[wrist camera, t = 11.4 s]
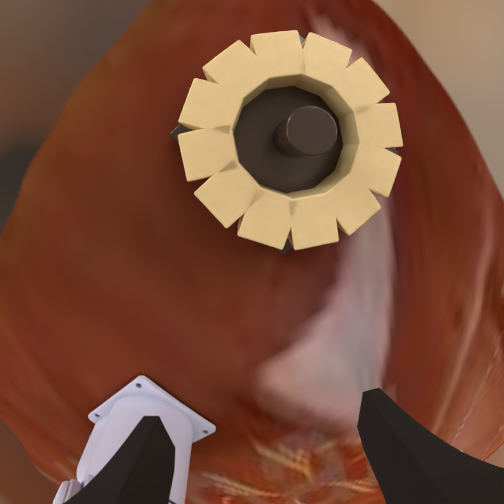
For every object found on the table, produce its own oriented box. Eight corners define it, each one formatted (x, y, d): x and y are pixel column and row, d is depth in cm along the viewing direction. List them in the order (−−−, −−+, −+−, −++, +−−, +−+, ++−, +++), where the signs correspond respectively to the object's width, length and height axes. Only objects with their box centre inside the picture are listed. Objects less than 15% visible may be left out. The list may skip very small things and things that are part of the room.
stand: (280, 249, 18) (297, 290, 12) (174, 135, 15) (142, 124, 10) (390, 154, 16) (446, 157, 11) (293, 39, 14) (316, -7, 8)
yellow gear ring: (278, 273, 17) (284, 291, 14) (149, 133, 14) (133, 129, 12) (411, 157, 15) (434, 159, 13) (296, 17, 12) (304, -2, 10)
